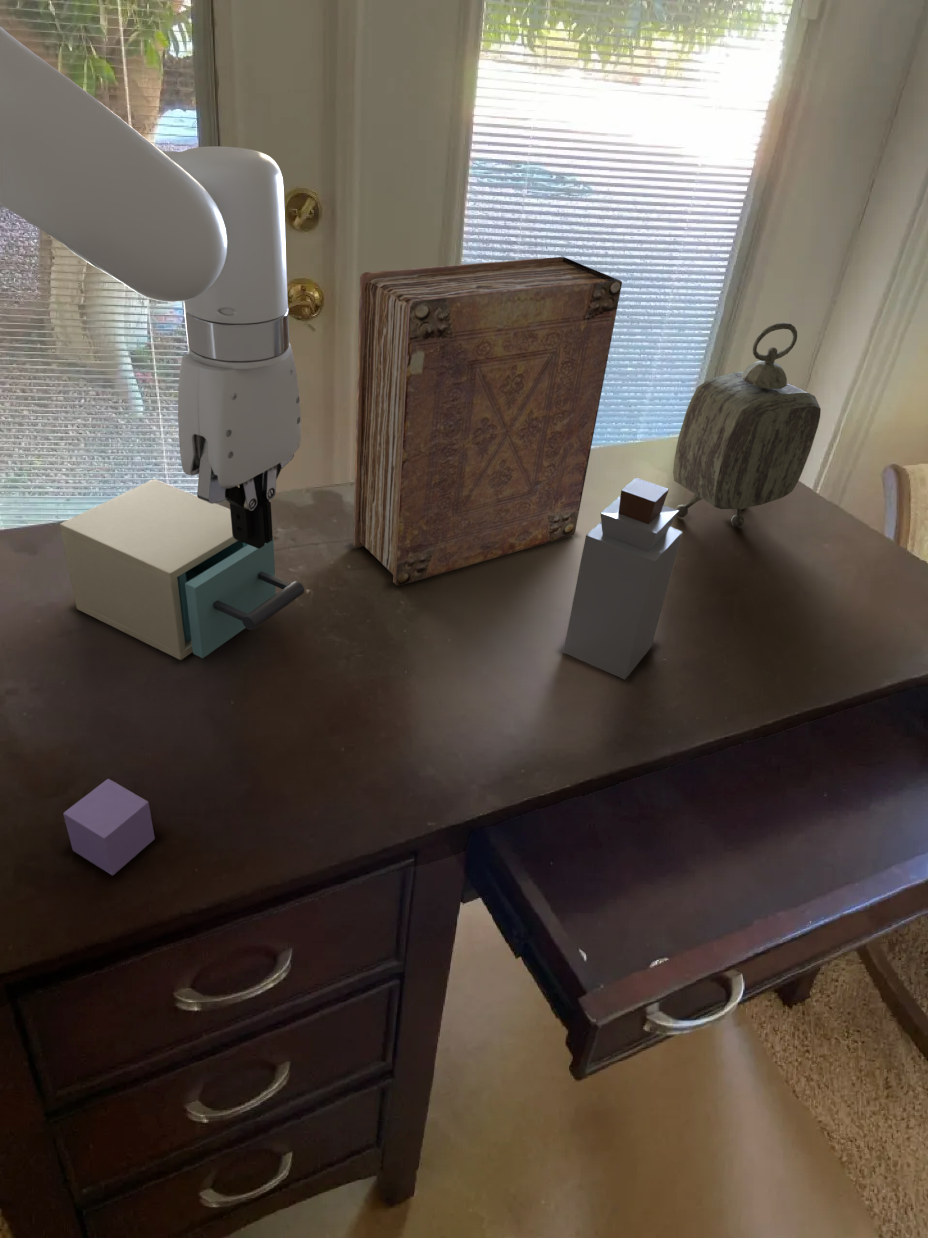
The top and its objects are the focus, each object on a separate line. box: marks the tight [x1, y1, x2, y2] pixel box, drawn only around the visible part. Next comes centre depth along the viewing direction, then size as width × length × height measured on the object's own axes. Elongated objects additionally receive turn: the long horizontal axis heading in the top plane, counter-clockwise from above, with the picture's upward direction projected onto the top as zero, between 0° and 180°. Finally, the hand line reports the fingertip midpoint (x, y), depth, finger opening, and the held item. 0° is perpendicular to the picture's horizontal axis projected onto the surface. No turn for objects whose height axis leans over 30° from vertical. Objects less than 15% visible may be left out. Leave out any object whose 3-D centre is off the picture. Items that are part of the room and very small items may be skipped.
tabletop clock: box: [672, 322, 822, 528], centre depth 107 cm, size 14×9×25 cm, turn 122°
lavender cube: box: [62, 778, 156, 877], centre depth 63 cm, size 4×4×4 cm
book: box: [352, 256, 623, 586], centre depth 95 cm, size 25×9×30 cm, turn 124°
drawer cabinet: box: [59, 478, 238, 661], centre depth 86 cm, size 14×12×10 cm
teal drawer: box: [177, 538, 305, 659], centre depth 84 cm, size 17×10×8 cm, turn 60°
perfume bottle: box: [562, 477, 684, 680], centre depth 84 cm, size 7×7×18 cm
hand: (252, 539), depth 78 cm, fingers closed
